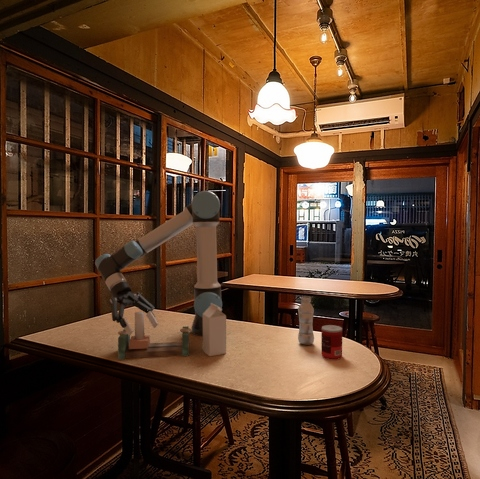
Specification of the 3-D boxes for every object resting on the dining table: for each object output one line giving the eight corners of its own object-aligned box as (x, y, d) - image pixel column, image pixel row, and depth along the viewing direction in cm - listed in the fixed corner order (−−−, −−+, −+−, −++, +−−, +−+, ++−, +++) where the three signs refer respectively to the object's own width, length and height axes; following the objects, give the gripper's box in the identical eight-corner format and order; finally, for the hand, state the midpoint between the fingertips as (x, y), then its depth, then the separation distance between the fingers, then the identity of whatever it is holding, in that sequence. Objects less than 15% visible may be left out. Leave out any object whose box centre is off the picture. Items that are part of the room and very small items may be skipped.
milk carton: (209, 356, 134) (209, 307, 133) (202, 351, 140) (202, 303, 139) (226, 353, 137) (226, 305, 136) (218, 348, 143) (218, 302, 143)
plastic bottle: (314, 347, 145) (314, 298, 144) (297, 346, 146) (297, 298, 145) (314, 342, 151) (314, 295, 150) (298, 341, 152) (298, 295, 152)
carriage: (149, 342, 142) (149, 310, 142) (147, 348, 135) (147, 314, 135) (131, 343, 141) (131, 311, 141) (129, 349, 134) (128, 315, 134)
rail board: (191, 345, 147) (190, 325, 147) (191, 355, 135) (191, 333, 135) (121, 348, 143) (121, 328, 143) (115, 359, 131) (115, 337, 131)
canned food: (343, 354, 136) (343, 326, 136) (340, 361, 129) (340, 331, 129) (323, 351, 140) (323, 324, 139) (319, 358, 132) (319, 329, 132)
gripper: (137, 288, 156) (162, 327, 148) (88, 296, 136) (113, 343, 128) (145, 277, 153) (171, 317, 145) (96, 284, 133) (122, 331, 125)
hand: (144, 329), depth 136 cm, fingers open, 12 cm apart
